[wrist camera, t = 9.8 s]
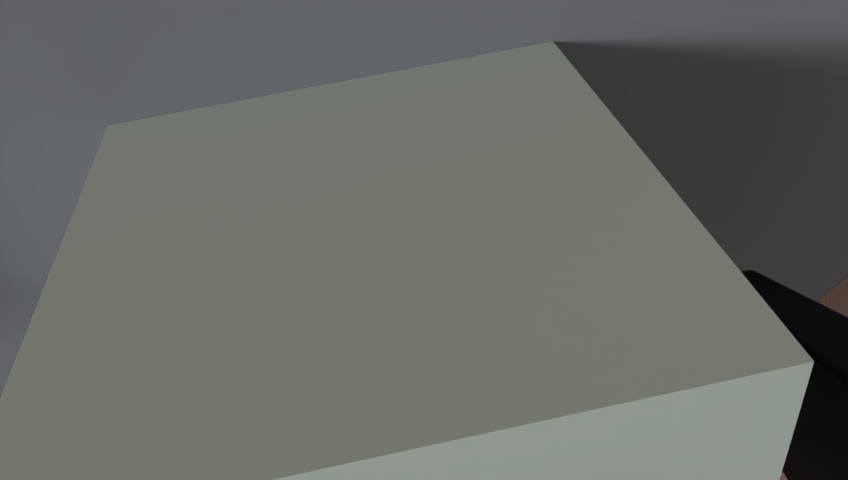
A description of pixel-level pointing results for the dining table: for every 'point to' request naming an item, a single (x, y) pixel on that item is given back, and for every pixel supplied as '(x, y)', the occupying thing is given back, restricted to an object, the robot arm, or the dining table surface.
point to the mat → (435, 43)
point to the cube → (397, 298)
